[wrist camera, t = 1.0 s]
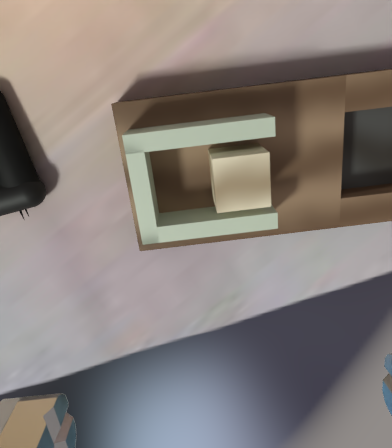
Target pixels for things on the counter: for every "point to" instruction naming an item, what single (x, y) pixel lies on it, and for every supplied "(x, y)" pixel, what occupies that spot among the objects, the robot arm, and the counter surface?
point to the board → (282, 150)
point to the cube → (240, 177)
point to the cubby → (201, 217)
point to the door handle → (16, 168)
